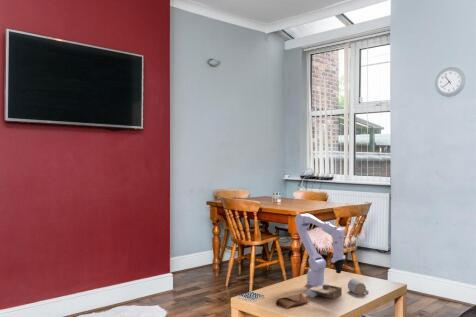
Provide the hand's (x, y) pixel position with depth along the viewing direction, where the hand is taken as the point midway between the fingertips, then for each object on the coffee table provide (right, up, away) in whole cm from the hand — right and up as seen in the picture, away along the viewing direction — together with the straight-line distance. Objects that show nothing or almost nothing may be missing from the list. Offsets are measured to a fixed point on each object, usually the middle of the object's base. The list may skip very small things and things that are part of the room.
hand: (338, 273), depth 248 cm
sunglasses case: (-29, -11, -23) cm, 38 cm away
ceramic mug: (+11, -11, -3) cm, 16 cm away
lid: (-11, -6, -14) cm, 19 cm away
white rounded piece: (-19, -9, -10) cm, 23 cm away
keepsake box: (-7, -10, -9) cm, 15 cm away
